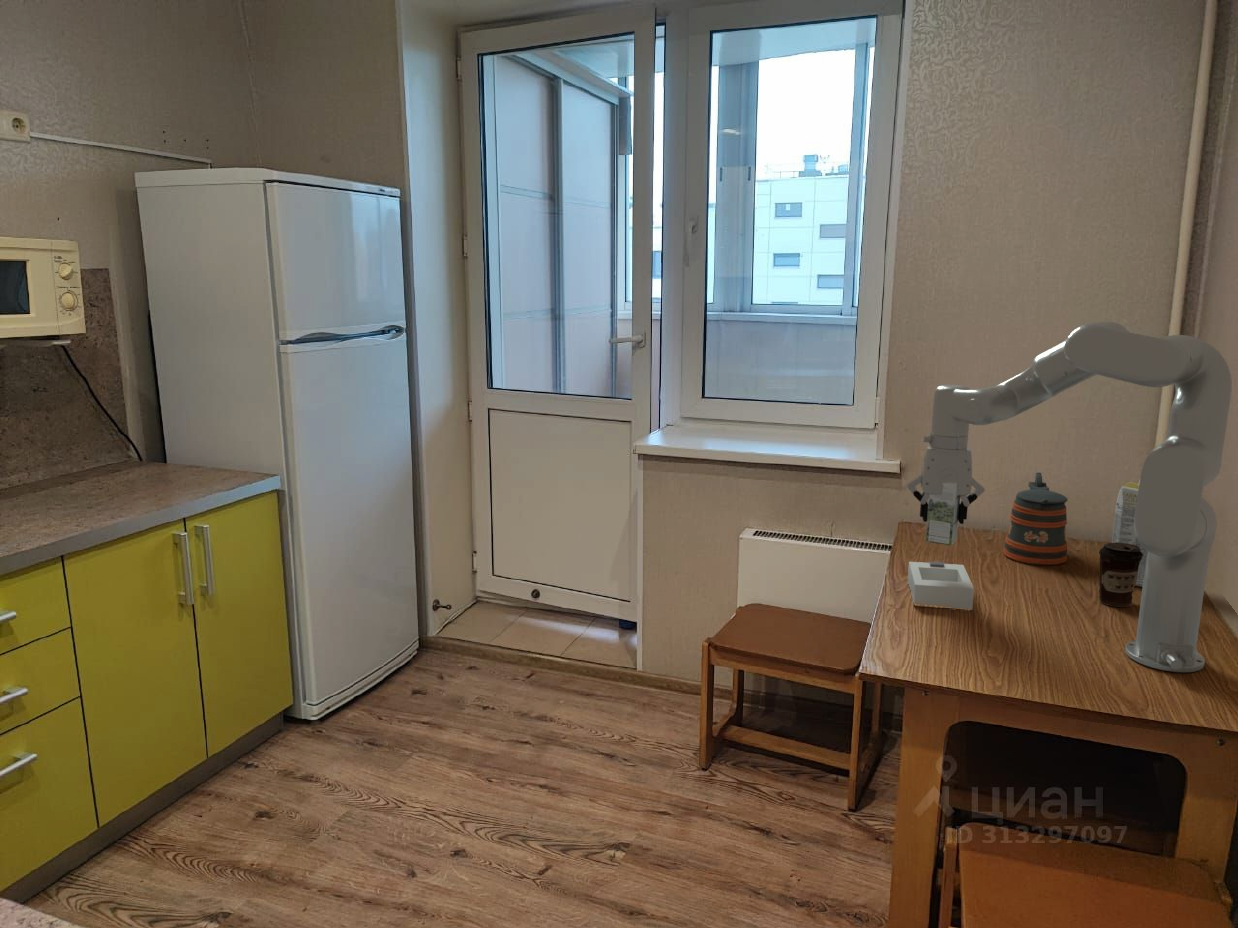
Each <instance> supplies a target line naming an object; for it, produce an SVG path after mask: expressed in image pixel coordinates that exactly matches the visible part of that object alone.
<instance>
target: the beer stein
mask: <svg viewBox="0 0 1238 928" xmlns="http://www.w3.org/2000/svg"><path fill="white" fill-rule="evenodd" d="M1028 487H1029V489H1026V490H1021V491H1019V492H1017V493H1016V495H1015V499H1014V500H1013V502H1012V508H1011V512H1010V516H1009V519H1010V525H1009V529H1008V533H1007V534H1006V536H1005V542H1004V547H1003V549H1002V551H1003V554H1004V555H1005V556H1006V557H1007V558H1008V559H1009V560H1012V561H1015V562H1018V563H1022V564H1026V565H1034V566H1057V565H1061V564H1064V563H1066V561H1067V560H1068V542H1067V538H1066V532H1067V531H1066V526H1067V524H1068V521H1067V520H1068V519H1067V506H1066V502H1068V500H1069V499H1068V498H1067V497H1066V496H1065V495H1063V494H1061V493H1059V492H1055V491H1052V490H1050V488H1049V487H1048V485H1047V483H1046V482H1043V475H1042V472H1036V473H1035V477H1034V481H1028Z"/></svg>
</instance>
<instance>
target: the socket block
mask: <svg viewBox="0 0 1238 928" xmlns="http://www.w3.org/2000/svg"><path fill="white" fill-rule="evenodd" d="M907 568H908V571H907V585H908V584H909V585H908V588H909V587H910V589H909V591H910V590H911V593H910V595H911V594H912V598H913V602H914V604H924V605H925V604H926V605H936V606H944V607H951V608H962V609H972V610H973V607H974V606H973V605H974V604H973V603H974V596H975V594H974V593H975V588H974V585H973V583H972V580H971V578H970V577H969V574H968V572H967V570H966V568H965V566H964V564H954V563H953V564H952V563H944V562H943V561H934V560H933V561H931V560H930V561H929V562H922V561H921V562H920V561H918V562H917V561H908V567H907ZM912 598H911V599H912ZM913 602H912V603H913Z"/></svg>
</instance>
